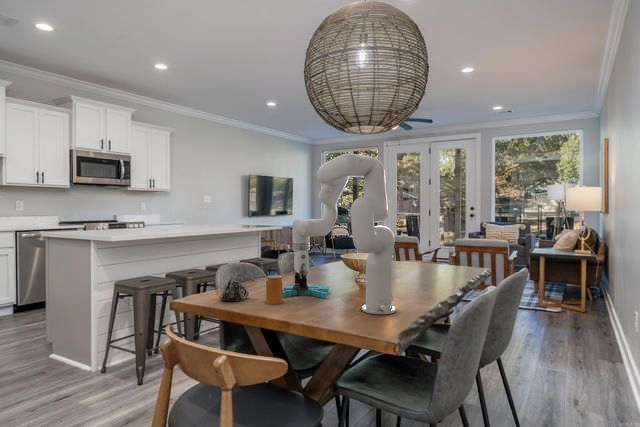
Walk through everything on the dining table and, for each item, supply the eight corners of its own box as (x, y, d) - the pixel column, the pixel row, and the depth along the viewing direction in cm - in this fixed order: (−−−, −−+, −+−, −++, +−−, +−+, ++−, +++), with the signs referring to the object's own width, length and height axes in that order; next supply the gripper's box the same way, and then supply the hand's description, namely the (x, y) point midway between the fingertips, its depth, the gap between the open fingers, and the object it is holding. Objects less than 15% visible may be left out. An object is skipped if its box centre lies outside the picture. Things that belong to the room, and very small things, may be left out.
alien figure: (326, 298, 173) (329, 289, 193) (326, 293, 173) (330, 284, 193) (279, 297, 175) (287, 288, 195) (279, 291, 175) (288, 283, 195)
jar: (284, 303, 163) (284, 277, 163) (267, 304, 161) (267, 278, 161) (280, 300, 169) (280, 275, 169) (264, 301, 167) (264, 275, 167)
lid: (292, 290, 178) (292, 286, 178) (293, 287, 185) (293, 283, 185) (308, 290, 178) (308, 286, 178) (308, 287, 185) (308, 283, 185)
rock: (239, 308, 161) (252, 286, 166) (218, 296, 161) (231, 274, 166) (238, 313, 173) (250, 292, 177) (218, 302, 173) (230, 282, 177)
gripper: (314, 248, 174) (313, 289, 174) (304, 245, 190) (304, 281, 190) (296, 249, 172) (296, 289, 172) (288, 245, 188) (288, 282, 188)
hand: (300, 285), depth 181 cm, fingers open, 9 cm apart
